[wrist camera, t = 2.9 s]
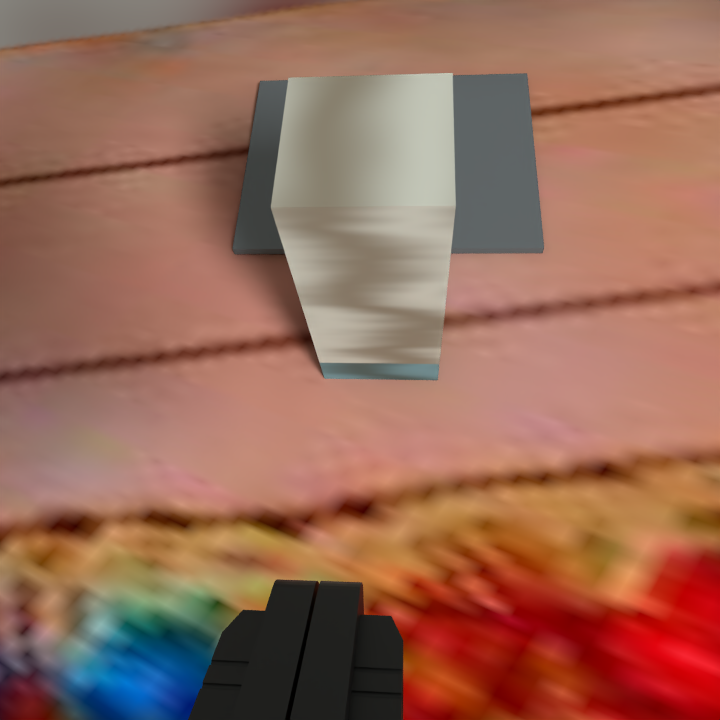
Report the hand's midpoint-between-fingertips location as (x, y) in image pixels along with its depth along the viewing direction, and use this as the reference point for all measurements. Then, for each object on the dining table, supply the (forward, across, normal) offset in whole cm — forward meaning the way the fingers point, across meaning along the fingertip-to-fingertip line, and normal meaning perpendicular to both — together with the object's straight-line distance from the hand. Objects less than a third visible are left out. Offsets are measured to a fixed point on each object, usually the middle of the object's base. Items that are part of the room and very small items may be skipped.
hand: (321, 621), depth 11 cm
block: (+24, 0, +2) cm, 24 cm away
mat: (+32, 0, -7) cm, 33 cm away
